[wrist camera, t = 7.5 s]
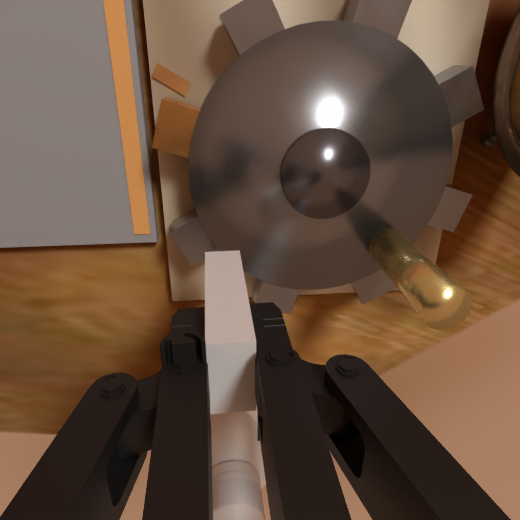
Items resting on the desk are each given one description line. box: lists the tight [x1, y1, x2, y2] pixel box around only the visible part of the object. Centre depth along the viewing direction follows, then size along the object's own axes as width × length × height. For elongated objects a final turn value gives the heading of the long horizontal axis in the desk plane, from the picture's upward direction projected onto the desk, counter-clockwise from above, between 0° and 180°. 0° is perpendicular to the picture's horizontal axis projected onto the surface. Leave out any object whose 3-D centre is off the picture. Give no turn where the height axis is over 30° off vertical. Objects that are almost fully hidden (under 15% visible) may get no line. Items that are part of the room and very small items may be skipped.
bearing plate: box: [143, 0, 490, 301], centre depth 21 cm, size 15×15×1 cm
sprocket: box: [152, 0, 484, 330], centre depth 17 cm, size 15×15×8 cm
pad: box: [0, 0, 159, 248], centre depth 19 cm, size 8×14×1 cm, turn 179°
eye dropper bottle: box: [210, 404, 266, 520], centre depth 21 cm, size 4×6×12 cm
